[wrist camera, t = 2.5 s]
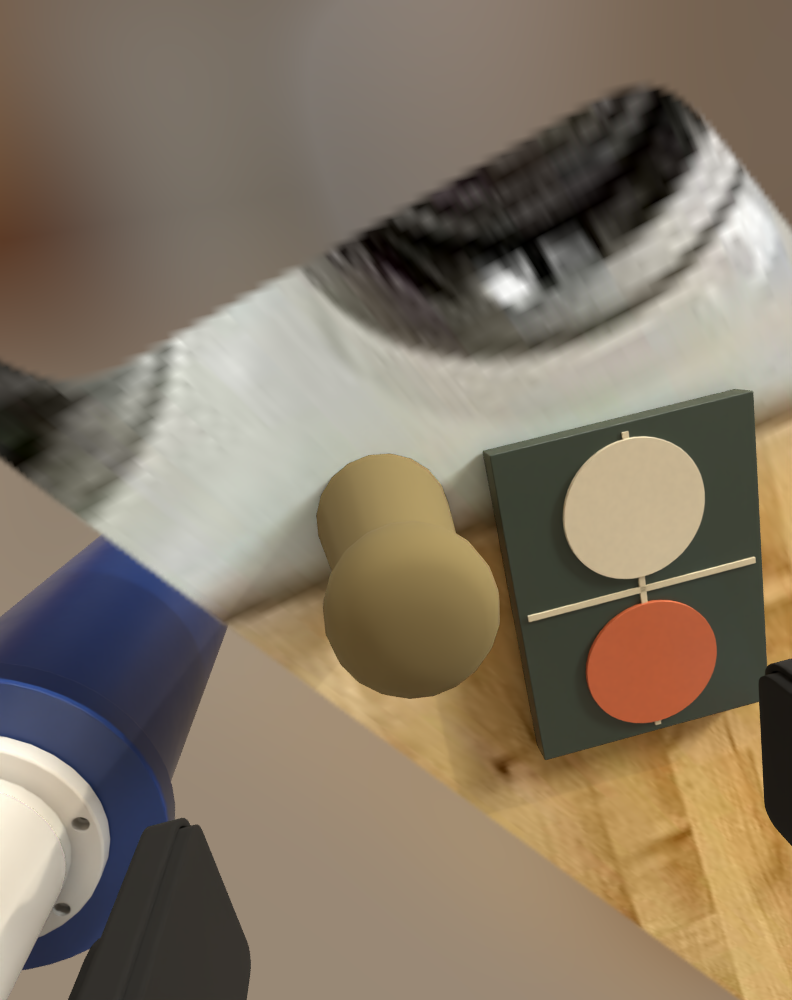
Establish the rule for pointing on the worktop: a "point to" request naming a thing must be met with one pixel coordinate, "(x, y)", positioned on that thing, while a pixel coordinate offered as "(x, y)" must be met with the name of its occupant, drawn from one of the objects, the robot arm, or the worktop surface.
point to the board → (634, 569)
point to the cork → (402, 580)
